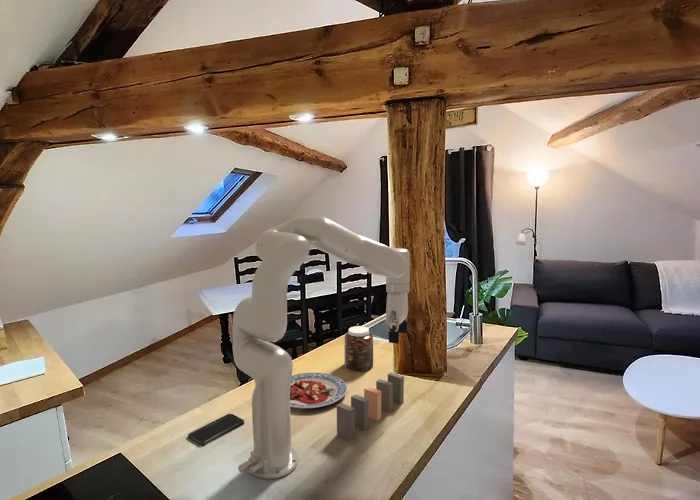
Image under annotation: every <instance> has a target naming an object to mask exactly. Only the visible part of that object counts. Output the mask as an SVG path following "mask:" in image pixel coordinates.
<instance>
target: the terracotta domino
mask: <svg viewBox="0 0 700 500" xmlns="http://www.w3.org/2000/svg"><path fill="white" fill-rule="evenodd" d="M363 397H364V398H367V399H368V405H369V419H371V420H373V421H376V422H379V421H380V420H381V419H382V409H381V391H380V390H377V389H376V388H374V387H371V386H369V385H368V386H366V387H364V389H363Z"/></svg>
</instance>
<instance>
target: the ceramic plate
mask: <svg viewBox="0 0 700 500" xmlns="http://www.w3.org/2000/svg"><path fill="white" fill-rule="evenodd" d="M347 391H348V386H347V383H346V382H345V380H343V379H342V378H340V377H338V376H336V375H333V374H330V373H327V372H326V373H325V372H302V373H296V374H292V377H291V383H290V408H295V409H314V408H315V409H317V408H321V407H326V406H329V405H332V404H335V403H336V402H338V401H340V400H341V399H342V398H344V396H345V395H346V393H347Z"/></svg>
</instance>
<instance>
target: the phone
mask: <svg viewBox="0 0 700 500" xmlns="http://www.w3.org/2000/svg"><path fill="white" fill-rule="evenodd" d="M244 425H245V419H243V418H241V417H239V416H237V415H235V414H234V413H228V414H225V415H223V416H221V417H220V418H217V419H216V420H215V419H214V420H213V421H211V422H209V423H207V424H205V425H203V426H201V427H200V428H197V429H195V430H193V431H191V432H189V433H188V434H187V437H188V439H189V440H191V441H192V442H194V443H195V444H197V445H198V446H200V447H205V446H207V445H209V444H211V443H213V442H214V441H216V440H218V439H219V438H222V437H223V436H225V435H228V434H229V433H231V432H232V431H234V430H236V429H238V428H241V427H242V426H244ZM210 442H211V443H210ZM208 443H209V444H208Z"/></svg>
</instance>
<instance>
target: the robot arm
mask: <svg viewBox="0 0 700 500" xmlns="http://www.w3.org/2000/svg"><path fill="white" fill-rule="evenodd" d="M254 247H255V249H254V250H255V254H256V256H257V257H258V258H259V259H260V260H261V262H260V264H259V265H258V267H257V269H256V270H255V272H254V275H253V278H252V282H251V283H252V285H251V296H248V297H245V298H244V299H242V300H241V301H240V302H239V303H238V304H237V306H236V307H235V309H234V311H233V315H232V353H233V354H232V356H233V360H234V364H235V366H236V367H237V368H238V369H239V370H240V371H241V372H243V373H244V374H245V375H248V376H249V377H250V378H251V379H253V380H254V382H255V386H254V388H253V392H252V396H251V413H252V414H251V415H252V434H253V435H252V437H253V450H251V451H250V457H249V458H248V459H247V460H246V461H243V463H241V464H239V465H238V466H237V469H238V472H239V473H240V474H243V473H245V472H246V471H248V470H249V474H251V475H254V476H255V477H257V478H260V479H265V480H266V479H267V480H271V479H276V478H277V479H278V478H282V477H284V476H286V475H288V474H289V473H291V472H292V471H294V470H295V468H297V465H298V462H299V455H298V453H297V451H296V450H295V449H294V448H293V447H292V420H291V417H292V416H291V407H290V383H291V377H292V375H293V371H294V369H293V367H294V366H293V360H292V357H291V356H290V354H289V353H288V352H287V351H286V350H285V349H284V348H282V347H280V346H279V345H276V344H274V343H275V342H278V341H280V340H281V339H283V337H284V336H285V334H286V331H287V328H288V327H287V326H288V285H289V282H290V280H291V278H292V276H293V275H294V273H295V272H296V271H297V270H298V269H299V268H300V267H301V266H302V265H303V264H305V262H306V260H307V259H308V257H309V255H310V254H309V253H310V249H311V248H314V249H316V250H319V251H320V252H323V253H326V254H329V255H331V256H333V257H335V258H337V259H339V260H341V261H343V262H346V263H349V264H351V265H357V266H361V267H363V268H364V269H363V270H365V272H367V273H368V274H371V275H374V276H375V275H376V276H380V277H385V287H386V288H385V289H386V291H385V292H386V293H387V296H386V308H385V322H386V324H388V343H389V344H395V345H396V344H397V345H398V344H399V342H400V334H407V333H408V315H409V314H408V313H409V304H408V303H409V301H408V300H409V299H408V298H409V297H408V296H409V295H408V294H409V293H410V291H411V287H410V286H411V284H410V282H411V279H410V278H411V277H410V275H411V274H410V272H411V271H410V270H411V269H410V267H411V266H410V263H411V261H410V260H411V259H410V251H409V250H408V249H406V248H402V247H396V248H392V247H391V246H388V245H385V244H383V243H380V242H377V241H375V240H373V239H370V238H368V237H365V236H363V235H360V234H357V233H355V232H354V231H351V230H350V229H348V228H347V227H345V226H343V225H341V224H340V223H338V222H335V221H333V220H332V219H329V218H327V217H324V216H314V215H313V216H311V215H302V216H297V217H295V218H293V219H291V220H289V221H286V222H283V223H281V224H279V225H277V226H273V227H271V228H270V229H268V230H265V231H264V232H262V233H261V234H260V235H258V237H257V239H256V242H255V245H254Z"/></svg>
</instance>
